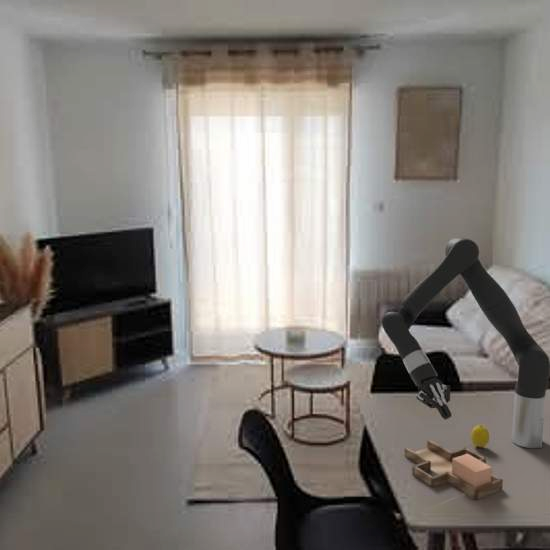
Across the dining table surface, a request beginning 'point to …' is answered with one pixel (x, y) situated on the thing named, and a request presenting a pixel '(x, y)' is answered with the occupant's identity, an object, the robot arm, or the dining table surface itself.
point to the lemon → (480, 436)
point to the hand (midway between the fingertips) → (448, 418)
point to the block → (471, 470)
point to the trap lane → (448, 469)
